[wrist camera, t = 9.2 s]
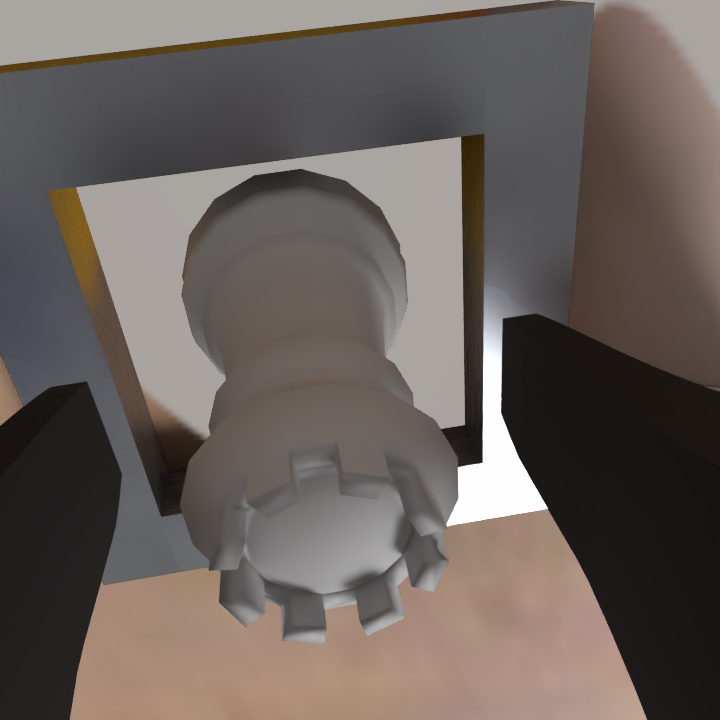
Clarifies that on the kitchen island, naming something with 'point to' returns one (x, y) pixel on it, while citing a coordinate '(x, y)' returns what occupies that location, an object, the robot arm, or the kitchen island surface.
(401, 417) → the rook chess piece
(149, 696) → the kitchen island surface
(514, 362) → the robot arm
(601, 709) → the kitchen island surface
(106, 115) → the hollow square block
